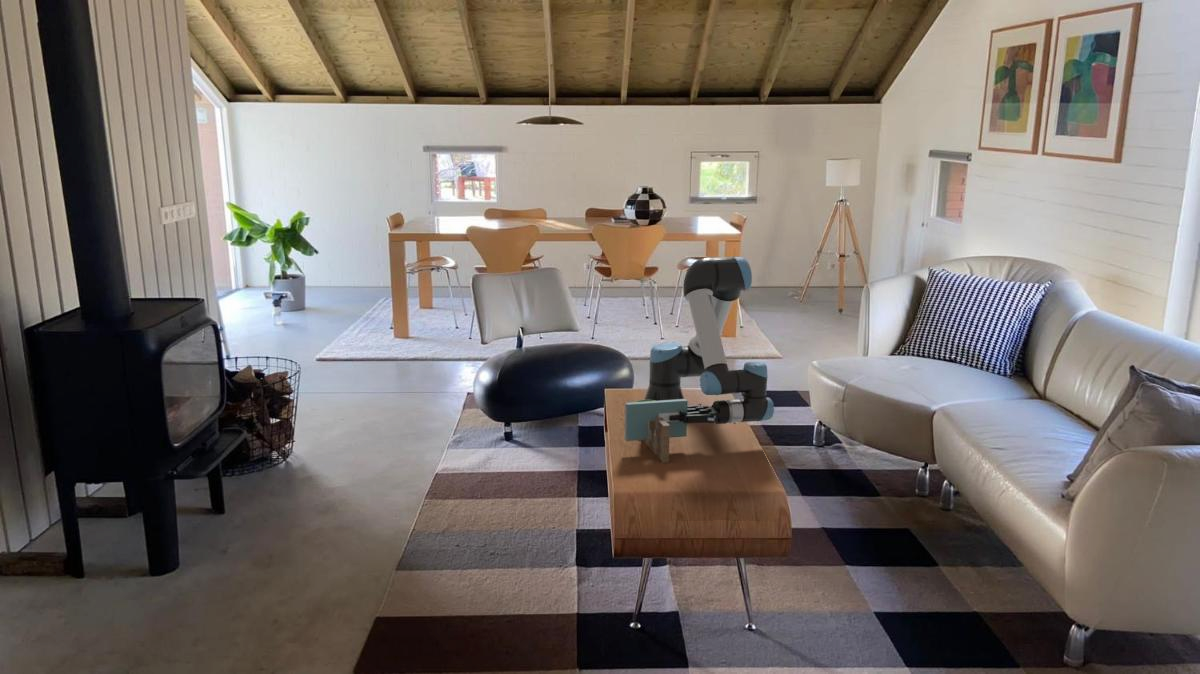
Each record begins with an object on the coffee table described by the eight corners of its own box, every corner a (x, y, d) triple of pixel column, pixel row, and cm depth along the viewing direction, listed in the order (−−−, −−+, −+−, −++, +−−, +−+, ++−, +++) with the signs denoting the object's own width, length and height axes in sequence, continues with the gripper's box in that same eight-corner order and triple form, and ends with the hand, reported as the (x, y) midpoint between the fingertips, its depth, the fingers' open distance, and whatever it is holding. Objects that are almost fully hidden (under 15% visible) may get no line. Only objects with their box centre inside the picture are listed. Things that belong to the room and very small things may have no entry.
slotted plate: (624, 439, 267) (625, 402, 265) (684, 434, 272) (685, 398, 270) (626, 441, 265) (627, 404, 263) (686, 436, 270) (687, 400, 268)
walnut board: (642, 438, 280) (642, 404, 278) (647, 438, 281) (648, 404, 278) (662, 462, 260) (663, 425, 257) (668, 462, 260) (669, 425, 257)
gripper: (735, 430, 267) (664, 435, 261) (717, 415, 281) (650, 420, 275) (736, 407, 265) (665, 412, 259) (718, 394, 279) (650, 398, 274)
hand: (657, 416), depth 267 cm, fingers closed on slotted plate, 2 cm apart
